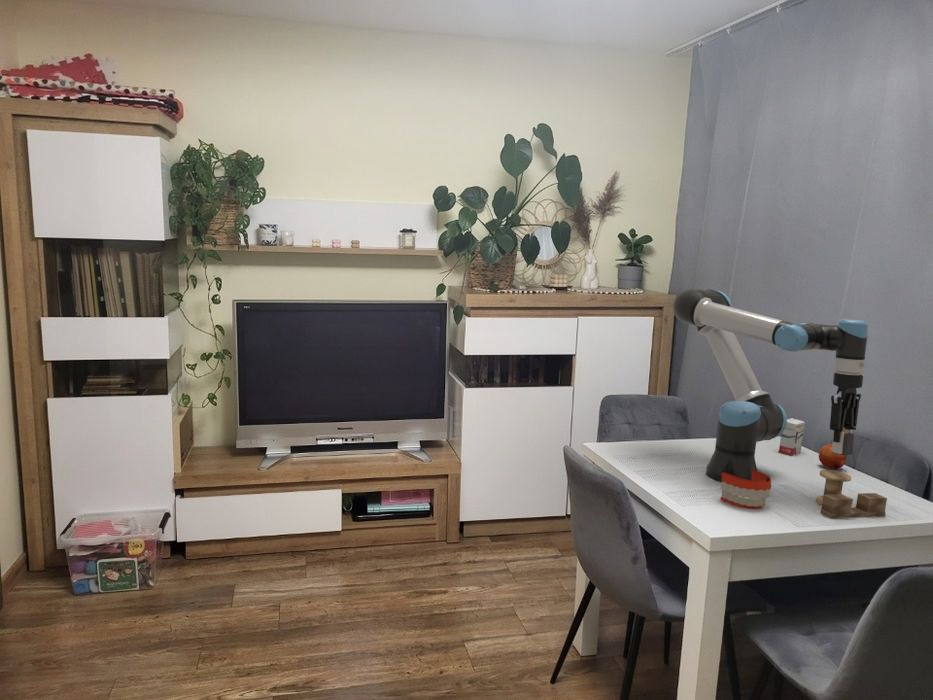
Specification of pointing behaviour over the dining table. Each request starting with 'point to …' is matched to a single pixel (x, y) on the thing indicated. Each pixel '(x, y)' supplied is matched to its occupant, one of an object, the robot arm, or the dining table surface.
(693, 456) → the dining table surface
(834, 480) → the wooden spool
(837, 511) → the brown wooden u-shaped block
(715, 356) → the robot arm
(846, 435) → the dark grey rectangular block
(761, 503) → the toy
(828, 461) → the apple
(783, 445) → the ink box
